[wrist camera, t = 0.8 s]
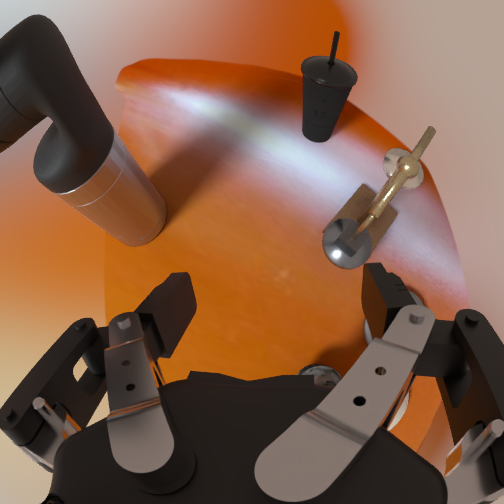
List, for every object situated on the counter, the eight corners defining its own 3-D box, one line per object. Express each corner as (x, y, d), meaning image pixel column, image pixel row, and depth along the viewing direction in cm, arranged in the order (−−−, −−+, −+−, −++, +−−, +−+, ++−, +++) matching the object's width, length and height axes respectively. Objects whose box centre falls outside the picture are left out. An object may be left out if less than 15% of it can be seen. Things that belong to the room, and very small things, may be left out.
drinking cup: (293, 114, 43) (302, 17, 23) (335, 119, 42) (360, 26, 23) (293, 147, 41) (307, 41, 21) (340, 151, 40) (375, 53, 21)
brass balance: (302, 255, 36) (332, 194, 19) (373, 171, 39) (416, 97, 23) (341, 289, 34) (402, 255, 18) (406, 199, 38) (462, 136, 21)
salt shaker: (337, 361, 32) (372, 375, 20) (334, 403, 30) (365, 434, 19) (292, 362, 32) (307, 379, 20) (290, 404, 30) (302, 439, 19)
